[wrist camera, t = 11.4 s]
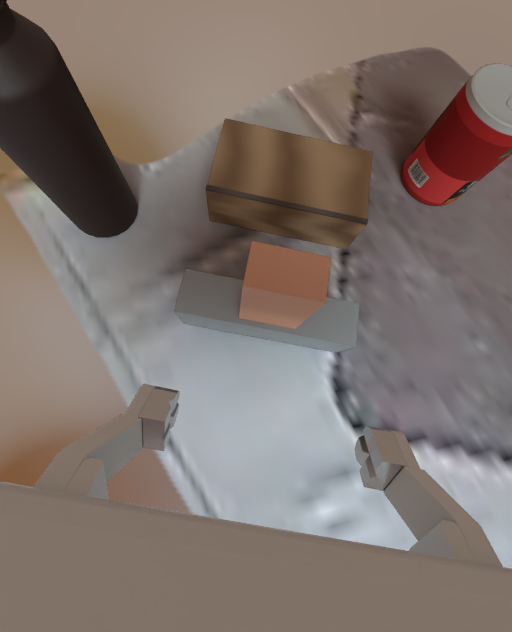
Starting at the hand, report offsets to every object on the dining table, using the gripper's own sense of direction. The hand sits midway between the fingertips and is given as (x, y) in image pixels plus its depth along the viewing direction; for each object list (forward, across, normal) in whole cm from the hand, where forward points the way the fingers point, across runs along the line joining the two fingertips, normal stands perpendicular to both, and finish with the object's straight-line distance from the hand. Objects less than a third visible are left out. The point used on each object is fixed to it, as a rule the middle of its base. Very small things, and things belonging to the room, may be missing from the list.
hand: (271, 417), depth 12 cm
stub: (+17, 0, +5) cm, 18 cm away
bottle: (+23, +19, 0) cm, 30 cm away
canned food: (+33, -18, -10) cm, 39 cm away
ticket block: (+27, 0, -5) cm, 28 cm away
